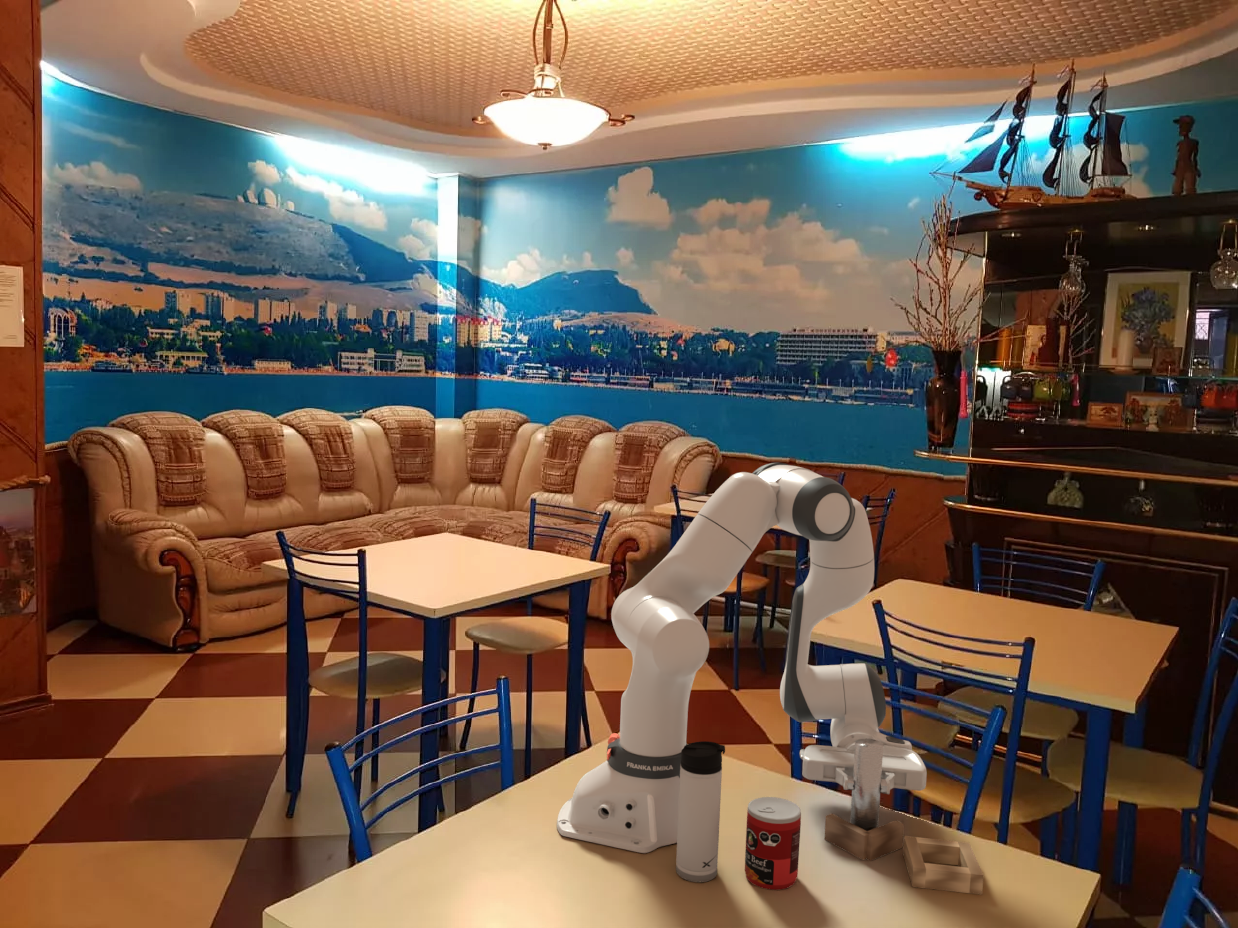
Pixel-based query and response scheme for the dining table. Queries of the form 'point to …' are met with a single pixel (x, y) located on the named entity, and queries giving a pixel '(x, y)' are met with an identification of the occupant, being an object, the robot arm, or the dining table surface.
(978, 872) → the oak collar
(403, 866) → the dining table surface
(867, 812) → the steel axle
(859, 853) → the walnut V-block
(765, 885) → the canned food
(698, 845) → the travel mug
